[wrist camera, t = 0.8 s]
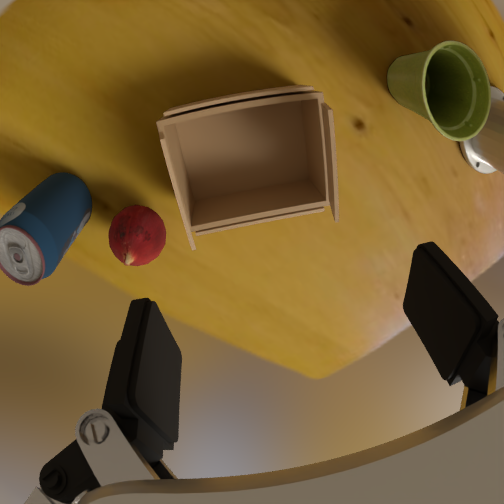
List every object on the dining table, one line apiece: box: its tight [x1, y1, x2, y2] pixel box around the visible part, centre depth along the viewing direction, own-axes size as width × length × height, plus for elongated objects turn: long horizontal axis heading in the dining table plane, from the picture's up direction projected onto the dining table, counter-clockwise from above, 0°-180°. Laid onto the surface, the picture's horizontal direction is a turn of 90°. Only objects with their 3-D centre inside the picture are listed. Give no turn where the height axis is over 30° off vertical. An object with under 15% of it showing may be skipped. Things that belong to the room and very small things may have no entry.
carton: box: [156, 85, 330, 236], centre depth 26 cm, size 13×11×6 cm
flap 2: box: [321, 103, 339, 222], centre depth 21 cm, size 4×8×1 cm
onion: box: [109, 205, 166, 266], centre depth 28 cm, size 6×6×8 cm
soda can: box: [0, 172, 92, 285], centre depth 24 cm, size 7×7×12 cm
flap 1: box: [159, 131, 196, 250], centre depth 21 cm, size 4×8×1 cm
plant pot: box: [387, 41, 491, 141], centre depth 22 cm, size 9×9×9 cm
